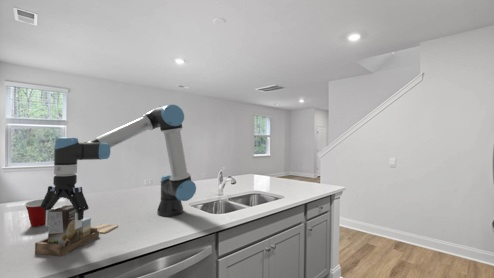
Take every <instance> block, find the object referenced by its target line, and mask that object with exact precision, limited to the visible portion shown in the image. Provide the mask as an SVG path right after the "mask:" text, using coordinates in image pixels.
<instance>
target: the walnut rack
mask: <svg viewBox="0 0 494 278" xmlns="http://www.w3.org/2000/svg"><path fill="white" fill-rule="evenodd" d="M94 227H95V226H91V234H90V235H88V236H86V237H84V238H82V239H80V240H78V241H76V242H74V243H71V244H69V245H67V246H65V247H63V248H62V244H55V243H48V237H46V238H44V239H41V240H39V241H37V242H35V244H34V254H37V255H38V254H39V255H49V256H59V257H63V256H64V255H66V254H68V253H71V252H72V251H74V250H76V249H78V248H79V247H82V246H85V244H88V243H90V242H92V241H93V240H95V239H97V238H99V237H100V233H99V231H97V228H94Z"/></svg>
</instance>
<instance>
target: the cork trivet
mask: <svg viewBox="0 0 494 278" xmlns="http://www.w3.org/2000/svg"><path fill="white" fill-rule="evenodd" d="M93 227H94V228H97V231H99V234H107V233H108V232H110V231H112V230H114V229H116V228H118V227H119V225H116V224H103V223H100V224H98V225H96V226H93Z"/></svg>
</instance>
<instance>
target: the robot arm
mask: <svg viewBox="0 0 494 278" xmlns="http://www.w3.org/2000/svg"><path fill="white" fill-rule="evenodd" d="M184 120H185V113H184V110H183V109H182V108H181V107H179V105H177V104H165V105H161V106H160V105H159V106H158V107H155V108H153V109H151V110H150V111H148V112H146V113H144V114H142V115H141V117H140V118H138V119H135V120H133V121H131V122H129V123H126V124H124V125H122V126H119V127H117V128H115V129H113V130H111V131H108V132H106V133H103V134H101V135H99V136H97V137H95V138H93V139H90V140H88V141H84V142H80V141H79V139H78V138H77V137H57V138H56V139H55V143H54V148H53V150H54V155H53V157H54V158H53V174H54V176H53V183H52V184H53V185H50V186H47V191H46V194H45V196H44V198H43V199H44V200H43V202H42V204H41V206H40V207H41V208H44V210H45V217H46V224H45V227H49V211H51V210H54V209H55V208H54V206H55V205H56V204H57V202H58V201H59V200H60V199H62V198H63V199H67V201H68V200H69V201H70V204H71V205H73V206H74V208H75V209H76V211H77V212H76V213H75V229H77V228H80V227H82V219H83V217H84V212H85V211H87V210H89V209H90V208H89V205H88V203H87V200H86V197H85V195H84V191H83V187H82V186H79V187H76V184H77V181H78V180H77V179H78V176H77V173H78V161H85V160H87V161H88V160H89V161H90V160H91V161H92V160H96V161H97V160H100V161H102V160H108V159H109V158H110V156H111V149H112V148H113V147H115V146H118V145H119V144H122V143H123V142H126V141H128V140H130V139H132V138H134V137H136V136H138V135H140V134H143V133H145V132H146V131H153V130H154V129H158V128H160V132H161V133H163V135H164V139H165V146H166V152H167V155H168V156H167V157H168V162H169V168H170V172H171V173H170V174H169V175H163V176H162V177H161V178H160V202H159V205H158V207H157V213H156V214H157V215H158V216H159V217H160V216H161V217H174V216H178V215H181V214H183V213H184V206H183V203H182V202H187V201H189V200H191V199H192V198H193V197H194V195H196V191H197V185H196V184H195V182H194V181H192V175H191V174H190V173H189V172H188V170H187V163H186V158H185V152H184V146H183V139H182V135H181V131H182V130H183V123H184ZM79 208H80V209H79Z"/></svg>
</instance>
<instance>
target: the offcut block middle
mask: <svg viewBox="0 0 494 278" xmlns="http://www.w3.org/2000/svg"><path fill="white" fill-rule="evenodd" d="M91 227H92V224H91V225H89V226H86V227H84V228H79V235H84V234H86V233H88V232H90V231H91Z"/></svg>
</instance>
